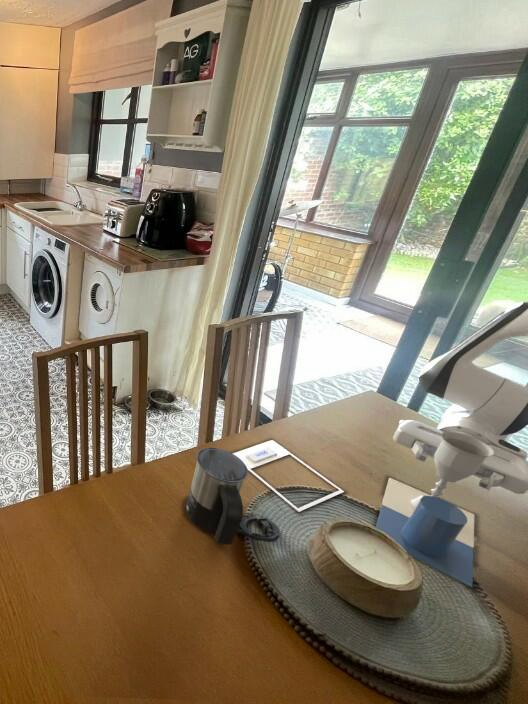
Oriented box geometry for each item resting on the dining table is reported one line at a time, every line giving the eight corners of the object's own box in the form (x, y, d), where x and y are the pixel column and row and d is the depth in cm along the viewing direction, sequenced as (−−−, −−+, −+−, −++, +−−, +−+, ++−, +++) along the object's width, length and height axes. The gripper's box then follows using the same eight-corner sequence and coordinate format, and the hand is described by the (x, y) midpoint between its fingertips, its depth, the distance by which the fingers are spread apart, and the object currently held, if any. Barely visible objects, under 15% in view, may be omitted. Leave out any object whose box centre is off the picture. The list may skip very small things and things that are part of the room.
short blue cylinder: (424, 527, 83) (444, 496, 79) (454, 557, 77) (477, 525, 73) (392, 527, 83) (411, 495, 79) (420, 557, 77) (441, 524, 74)
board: (387, 480, 96) (389, 477, 95) (472, 517, 86) (474, 514, 86) (371, 539, 82) (373, 536, 81) (470, 591, 73) (472, 587, 72)
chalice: (442, 502, 89) (482, 438, 81) (456, 527, 83) (502, 460, 75) (399, 491, 91) (435, 427, 84) (411, 514, 86) (450, 448, 78)
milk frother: (174, 502, 90) (187, 450, 83) (237, 490, 93) (254, 439, 86) (216, 563, 77) (234, 507, 71) (287, 547, 80) (311, 493, 74)
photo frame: (272, 439, 106) (344, 490, 91) (271, 442, 107) (342, 494, 92) (230, 453, 101) (299, 511, 86) (229, 457, 102) (297, 514, 87)
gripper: (407, 407, 96) (392, 431, 88) (539, 456, 82) (536, 491, 74) (396, 428, 99) (381, 454, 91) (523, 479, 84) (518, 515, 77)
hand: (451, 471), depth 82 cm, fingers open, 8 cm apart
